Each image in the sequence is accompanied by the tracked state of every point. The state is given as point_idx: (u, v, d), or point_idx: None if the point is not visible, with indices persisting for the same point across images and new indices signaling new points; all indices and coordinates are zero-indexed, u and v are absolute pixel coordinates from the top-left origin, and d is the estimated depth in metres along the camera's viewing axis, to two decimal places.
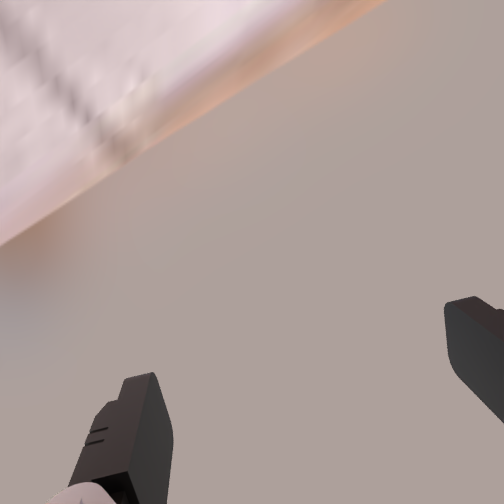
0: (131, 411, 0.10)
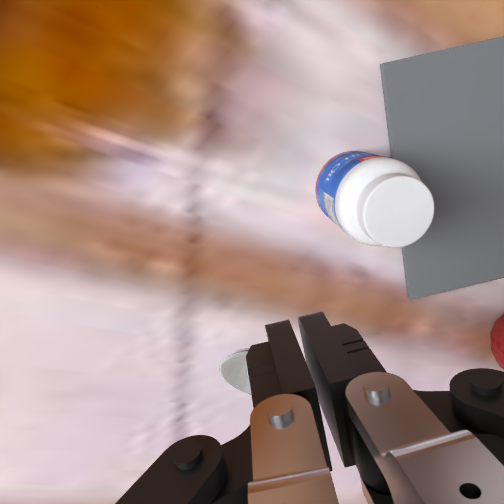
0: (289, 347, 0.11)
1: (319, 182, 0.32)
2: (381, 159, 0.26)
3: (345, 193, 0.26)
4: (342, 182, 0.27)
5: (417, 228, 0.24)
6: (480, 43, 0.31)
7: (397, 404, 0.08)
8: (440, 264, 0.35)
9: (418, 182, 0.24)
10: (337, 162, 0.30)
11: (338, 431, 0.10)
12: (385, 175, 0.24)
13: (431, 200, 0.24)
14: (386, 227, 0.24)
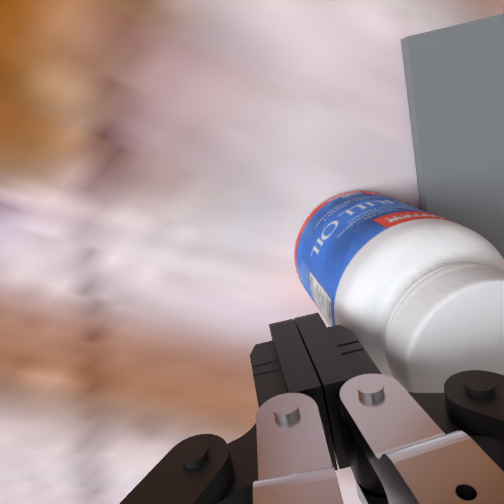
0: (294, 346, 0.11)
1: (301, 249, 0.18)
2: (428, 227, 0.12)
3: (357, 299, 0.12)
4: (347, 273, 0.13)
5: None
6: None
7: (391, 406, 0.08)
8: None
9: None
10: (332, 217, 0.17)
11: (333, 433, 0.10)
12: (448, 271, 0.11)
13: None
14: None
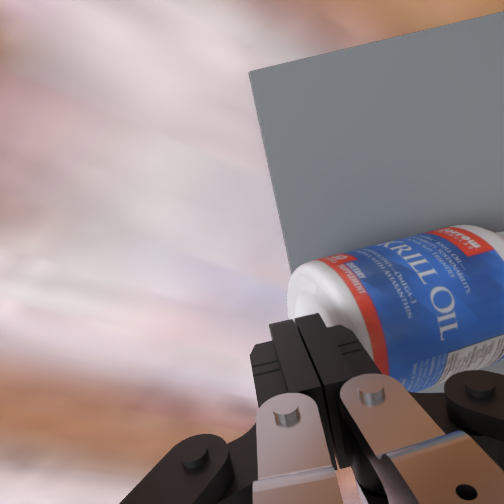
0: (293, 346, 0.11)
1: (402, 358, 0.13)
2: (491, 232, 0.16)
3: None
4: None
5: None
6: (426, 33, 0.17)
7: (391, 406, 0.08)
8: None
9: None
10: (420, 291, 0.14)
11: (333, 433, 0.10)
12: None
13: None
14: None
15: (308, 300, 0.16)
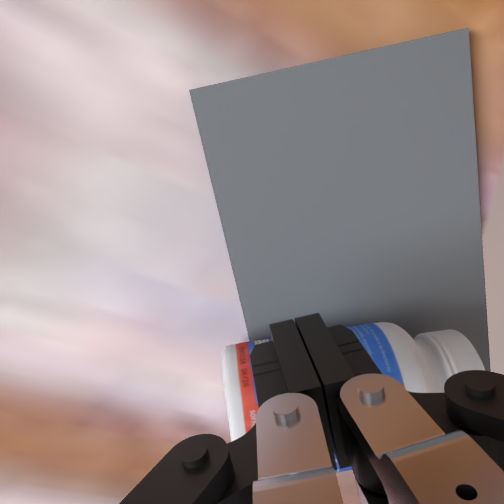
0: (294, 346, 0.11)
1: None
2: None
3: None
4: None
5: None
6: (367, 53, 0.17)
7: (391, 406, 0.08)
8: None
9: (483, 368, 0.17)
10: None
11: (333, 432, 0.10)
12: None
13: None
14: None
15: None
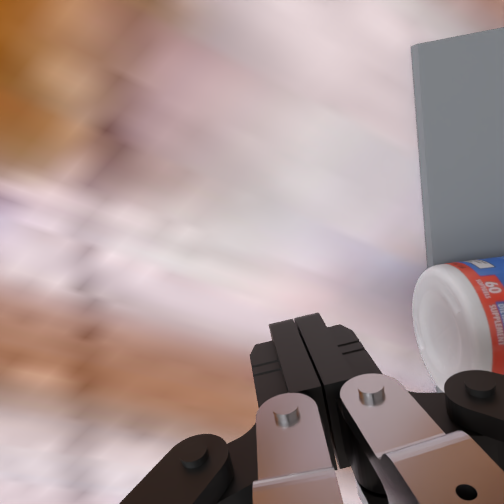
0: (294, 346, 0.11)
1: None
2: None
3: None
4: None
5: None
6: None
7: (391, 405, 0.08)
8: None
9: None
10: None
11: (333, 432, 0.10)
12: None
13: None
14: None
15: (445, 304, 0.17)
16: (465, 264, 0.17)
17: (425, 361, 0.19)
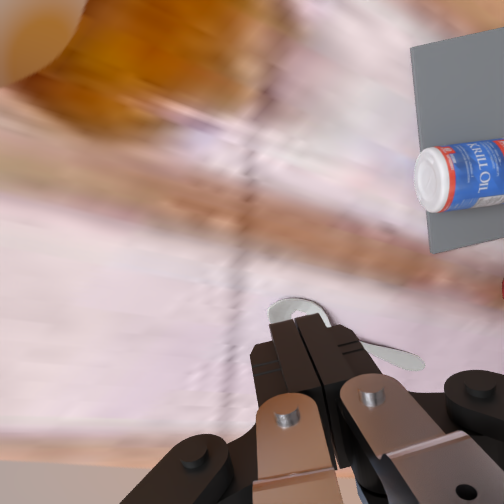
0: (293, 346, 0.11)
1: (459, 196, 0.35)
2: None
3: None
4: None
5: None
6: (495, 30, 0.36)
7: (391, 406, 0.08)
8: (459, 223, 0.41)
9: None
10: (477, 172, 0.34)
11: (333, 432, 0.10)
12: None
13: None
14: None
15: (428, 164, 0.36)
16: (436, 146, 0.36)
17: (422, 203, 0.38)
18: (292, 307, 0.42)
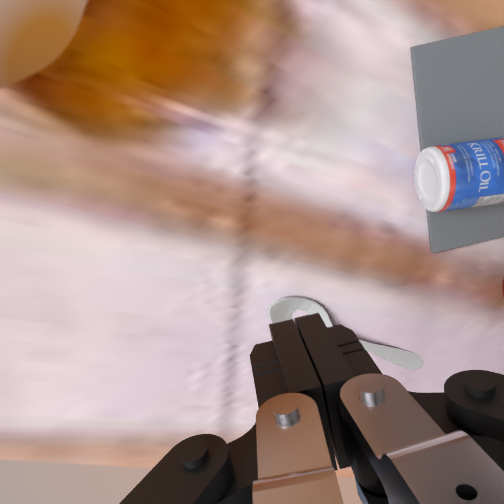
0: (294, 346, 0.11)
1: (460, 196, 0.35)
2: None
3: None
4: None
5: None
6: (495, 29, 0.36)
7: (391, 406, 0.08)
8: (459, 222, 0.41)
9: None
10: (477, 171, 0.34)
11: (333, 432, 0.10)
12: None
13: None
14: None
15: (428, 163, 0.36)
16: None
17: (422, 203, 0.38)
18: (293, 306, 0.42)
